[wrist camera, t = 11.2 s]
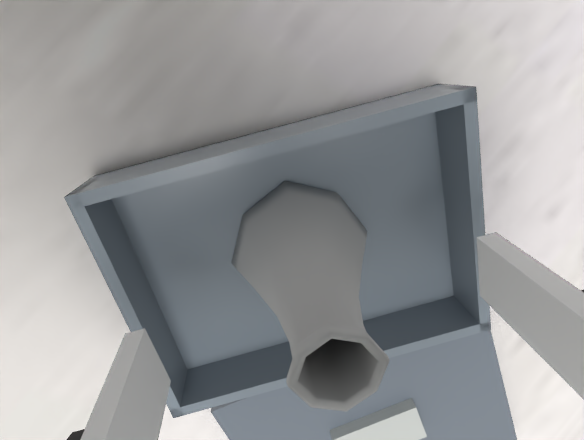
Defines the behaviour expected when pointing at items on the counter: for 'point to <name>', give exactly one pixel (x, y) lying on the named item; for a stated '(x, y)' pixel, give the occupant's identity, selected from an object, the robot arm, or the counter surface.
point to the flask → (313, 291)
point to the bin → (258, 184)
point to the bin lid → (393, 402)
